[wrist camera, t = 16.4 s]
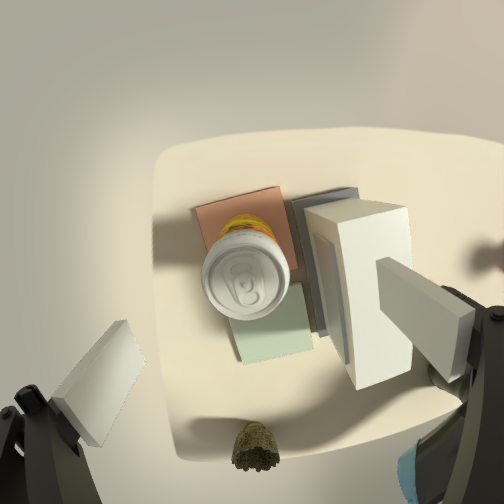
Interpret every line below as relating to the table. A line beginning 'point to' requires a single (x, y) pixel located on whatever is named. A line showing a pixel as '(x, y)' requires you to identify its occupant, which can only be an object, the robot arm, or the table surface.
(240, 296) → the beer can
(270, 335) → the sage pad
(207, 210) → the terracotta pad
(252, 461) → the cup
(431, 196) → the table surface
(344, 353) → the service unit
